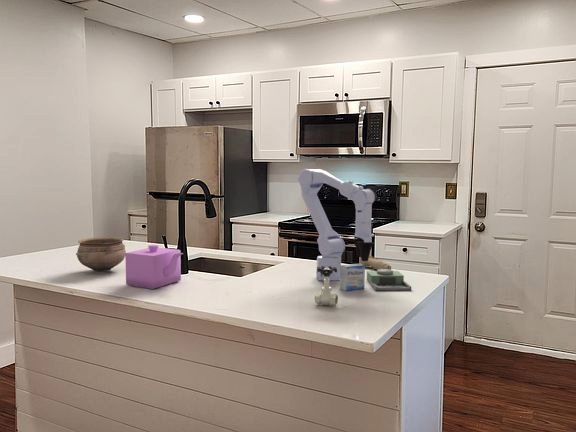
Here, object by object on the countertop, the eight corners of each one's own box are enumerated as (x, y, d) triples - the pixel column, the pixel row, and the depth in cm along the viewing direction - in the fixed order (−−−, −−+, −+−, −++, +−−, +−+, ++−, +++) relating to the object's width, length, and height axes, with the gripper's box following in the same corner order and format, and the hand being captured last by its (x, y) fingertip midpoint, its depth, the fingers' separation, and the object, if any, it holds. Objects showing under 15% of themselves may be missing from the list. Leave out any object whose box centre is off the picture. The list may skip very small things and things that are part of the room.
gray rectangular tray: (375, 291, 179) (375, 286, 179) (370, 285, 188) (370, 281, 188) (411, 290, 180) (411, 286, 180) (404, 285, 188) (404, 281, 188)
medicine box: (345, 291, 179) (346, 266, 178) (339, 288, 183) (339, 264, 182) (364, 289, 182) (365, 265, 181) (358, 286, 186) (358, 262, 185)
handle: (395, 262, 210) (372, 254, 223) (382, 264, 207) (360, 256, 220) (394, 273, 211) (372, 265, 224) (382, 275, 208) (360, 267, 221)
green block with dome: (371, 285, 188) (371, 273, 187) (366, 280, 196) (366, 268, 195) (403, 285, 189) (403, 273, 188) (397, 280, 197) (397, 268, 196)
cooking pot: (107, 262, 227) (107, 235, 226) (140, 266, 219) (140, 238, 218) (60, 273, 205) (59, 242, 204) (95, 278, 197) (94, 246, 195)
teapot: (169, 291, 178) (169, 251, 176) (116, 283, 189) (115, 245, 187) (196, 282, 191) (195, 245, 190) (144, 275, 202) (143, 240, 201)
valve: (320, 301, 165) (320, 265, 164) (339, 304, 163) (340, 266, 162) (312, 306, 159) (313, 269, 158) (332, 309, 157) (333, 270, 156)
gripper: (378, 224, 180) (377, 262, 182) (370, 220, 195) (369, 255, 196) (359, 224, 180) (358, 262, 181) (351, 220, 194) (350, 255, 196)
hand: (362, 258), depth 189 cm, fingers open, 7 cm apart
